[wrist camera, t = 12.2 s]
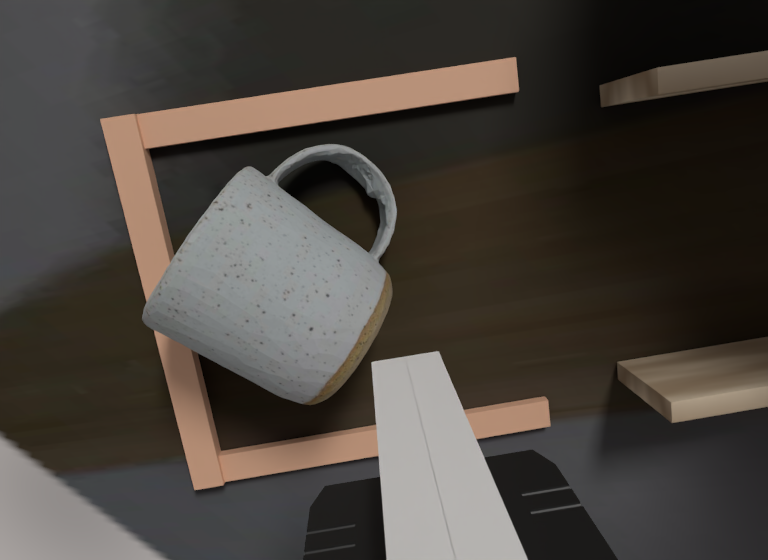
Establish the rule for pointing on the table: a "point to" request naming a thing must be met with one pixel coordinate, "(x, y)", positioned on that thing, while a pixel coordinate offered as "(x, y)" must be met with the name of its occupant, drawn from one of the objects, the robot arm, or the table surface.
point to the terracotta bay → (155, 252)
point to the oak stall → (714, 363)
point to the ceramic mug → (279, 283)
